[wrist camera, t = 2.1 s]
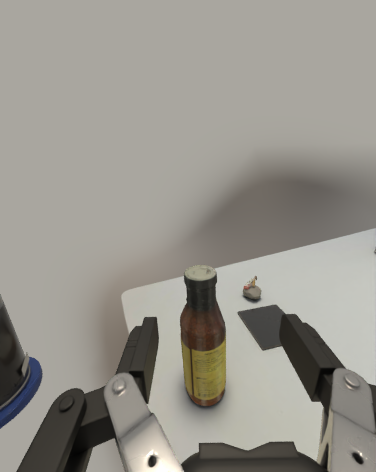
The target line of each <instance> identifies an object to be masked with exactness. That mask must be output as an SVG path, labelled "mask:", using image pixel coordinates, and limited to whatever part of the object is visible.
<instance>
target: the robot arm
mask: <svg viewBox="0 0 376 472" xmlns="http://www.w3.org/2000/svg"><path fill="white" fill-rule="evenodd" d="M279 339H280V342H281V345H282V346H283V348H284V350H285V352H286V354H287V356H288V358H289V360H290V361H291V363H292V365H293V367H294V369H295V371H296V373H297V374H298V376H299V378H300V380H301V382H302V384H303V386H304V388H305V389H306V391H307V393H308V395H309V397H310V399H311V401H312V402H320V401H321V403H322V405H323V407H324V408H323V412H322V422H321V433H320V443H319V452H318V457H317V462H316V461H314V460H313V459H311V458H310V457H308V456H306V455H304V454H302V453H300V452H297V450H296V447H295V445H294V442H269V443H266V444H264V445H261V446H259V447H257V448H254V449H252V450H249V451H247V450H243V449H240V448H237V447H234V446H231V445H227V444H224V443H199V452H198V453H195V454H193V455H192V456H190V457H189V458H187V459H186V460H185V461H184V462H183V463H182V464H181V465H180V463H179V461H178V459H177V457H176V455H175V453H174V451H173V449H172V447H171V445H170V443H169V441H168V439H167V437H166V435H165V433H164V431H163V429H162V427H161V425H160V424H159V422H158V420H157V418H156V416H155V415H154V413H151V412H150V410H149V409H148V406H147V404H148V402H149V396H150V391H151V385H152V379H153V373H154V367H155V361H156V356H157V350H158V342H159V335H158V325H157V317H145V318H144V320H143V324H142V326H136V327H135V328H134V329H133V330H132V331H131V333H130V335H129V338H128V342H127V344H126V347H125V349H124V352H123V355H122V357H121V361H120V363H119V366H118V369H117V371H116V374H115V376H113V377H112V378H111V379H110V380H109V381H108V382H107V384H106V385H105V386H104V387H102V388H100V389H97V390H94V391H91V392H89V393H86V394H84V392H83V391H82V390H81V389H78V388H74V389H70V390H68V391H66V392H64V393H62V394H61V395H60V396H59V397H58V398H57V399H56V400H55V401H54V402H53V404H52V405H51V407H50V409H49V411H48V413H47V415H46V417H45V418H44V420H43V422H42V424H41V426H40V428H39V430H38V432H37V434H36V436H35V437H34V439H33V441H32V443H31V445H30V447H29V449H28V451H27V453H26V454H25V456H24V458H23V460H22V462H21V464H20V466H19V468H18V470H17V472H86V469H87V466H88V462H89V459H90V456H91V452H92V449H93V447H95V446H97V445H99V444H101V443H103V442H106V441H108V440H110V439H113V438H115V442H116V445H117V448H118V451H119V454H120V458H121V460H122V464H123V467H124V470H125V472H376V386H375V385H371V384H368V383H367V382H366V381H365V380H364V379H363V378H362V377H361V376H359V375H358V374H356V373H355V372H353V371H351V370H348V369H346V368H345V367H344V366H343V364H342V363H341V362H340V361H339V359H338V358H337V357H336V356H335V354H334V353H333V352H332V351H331V349H330V348H329V347H328V345H327V344H325V342H324V340H323V339H322V338H321V337H320V335H319V334H318V333H317V332H316V330H315V329H314V328H312V327H311V326H310V325H308V324H307V323H302V321H301V320H300V319H299V317H298V316H297V315H296V314H283V315H282V317H281V323H280V330H279ZM29 359H30V358H29V356H28V354H27V353H26V356H25V355H24V352H23V350H22V347H21V345H20V342H19V340H18V337H17V335H16V332H15V330H14V327H13V325H12V322H11V320H10V317H9V315H8V312H7V310H6V307H5V305H4V302H3V300H2V297H1V295H0V412H1V411H2V410H4V409H5V408H6V407H8V406H9V405H10V404H11V403H12V402H13V401H14V400H15V399H16V398H17V397H18V396H19V395H20V394H21V393H22V392H23V390H24V389H25V387H26V386H27V384H28V382H29V380H30V377H31V368H30V365H29V363H28V362H29Z"/></svg>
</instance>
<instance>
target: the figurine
mask: <svg viewBox="0 0 376 472" xmlns="http://www.w3.org/2000/svg"><path fill="white" fill-rule="evenodd" d="M255 279H256V280H257V276H255V277H254V280H253V279H251V281H252V282H251V281H249V282H251V283H250V284H247V283H248V282H247V283H246V284H247V285H248V286H244V289H243V294H244V296H247V297H248V298H250V299H259V298H260V294H261V289H260V288H259V287H258V286H255ZM246 284H245V285H246Z"/></svg>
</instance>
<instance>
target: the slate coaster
mask: <svg viewBox="0 0 376 472" xmlns="http://www.w3.org/2000/svg"><path fill="white" fill-rule="evenodd" d="M238 314H239V316H240V317H241V319H242V320H243V322H244V323H245V325H246V326H247V328H248V329H249V331H250V332H251V334H252V335H253V337H254V338H255V340H256V341H257V343H258V344H259V345H260V347H261V348H262V350H265V349H270V348H274V347H278V346H282V345H281V342H280V339H279V330H280V323H281V317H282V315H283V314H285V313H284V312H283V311H282V310H281V309H280V308H279V307H278V306H277V305H271V306H266V307H260V308H255V309H250V310H245V311H239V312H238Z"/></svg>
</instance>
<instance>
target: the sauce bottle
mask: <svg viewBox="0 0 376 472" xmlns="http://www.w3.org/2000/svg"><path fill="white" fill-rule="evenodd" d="M184 282H185V284H186V288H187V299H186V300H187V303H186V305H185V307H184V309H183V312H182V314H181V317H180V326H181V345H182V356H183V368H184V379H185V385H186V390H187V392H188V394H189V396H190V397H191V399H192V400H193V401H194V402H195V403H196V404H198V405H202V406H211V405H214V404H216V403H217V402H218V401H219V400H220V399H221V397H222V396H223V394H224V390H225V383H226V328H225V322H224V320H223V317H222V314H221V311H220V309H219V306H218V303H217V301H216V290H215V289H216V287H215V285H216V283H217V274H216V271H215V270H214V269H213V268H212V267H210V266H206V265H196V266H192V267H189V268H188V269H186V271H185V272H184Z"/></svg>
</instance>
